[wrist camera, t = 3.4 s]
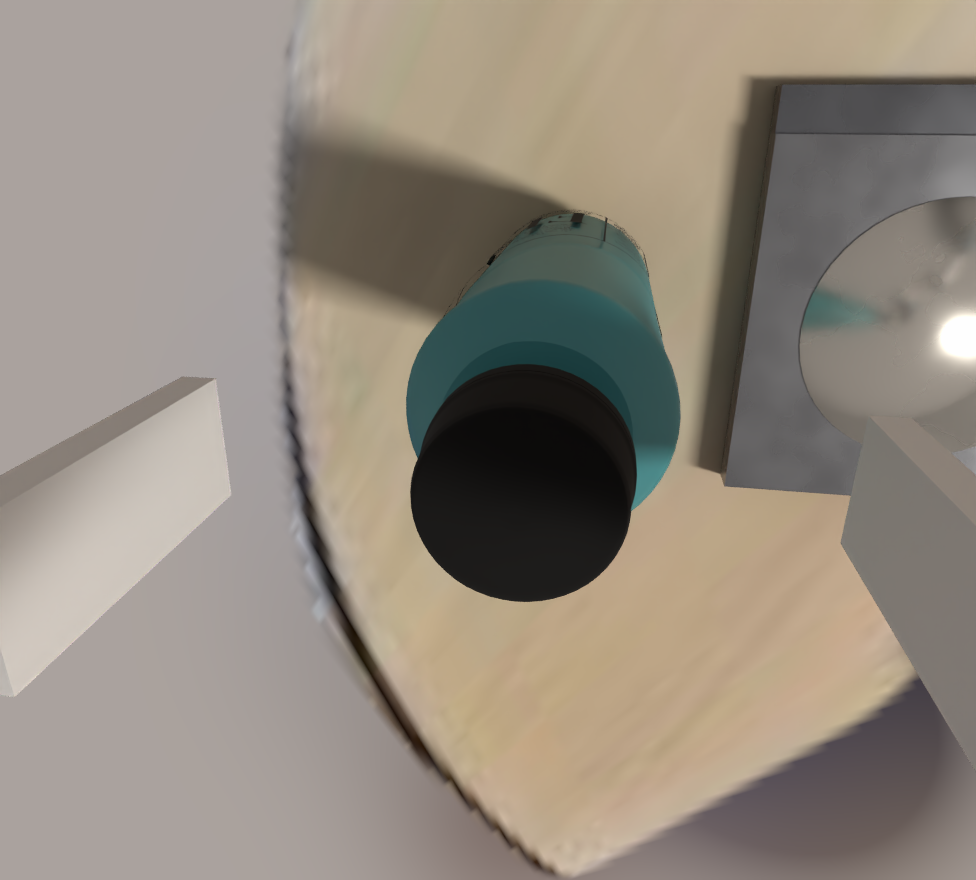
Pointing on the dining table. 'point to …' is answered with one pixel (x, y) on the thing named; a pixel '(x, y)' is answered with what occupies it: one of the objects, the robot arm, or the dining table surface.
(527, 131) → the dining table surface
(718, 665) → the dining table surface
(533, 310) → the beverage bottle
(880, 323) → the motor plate
